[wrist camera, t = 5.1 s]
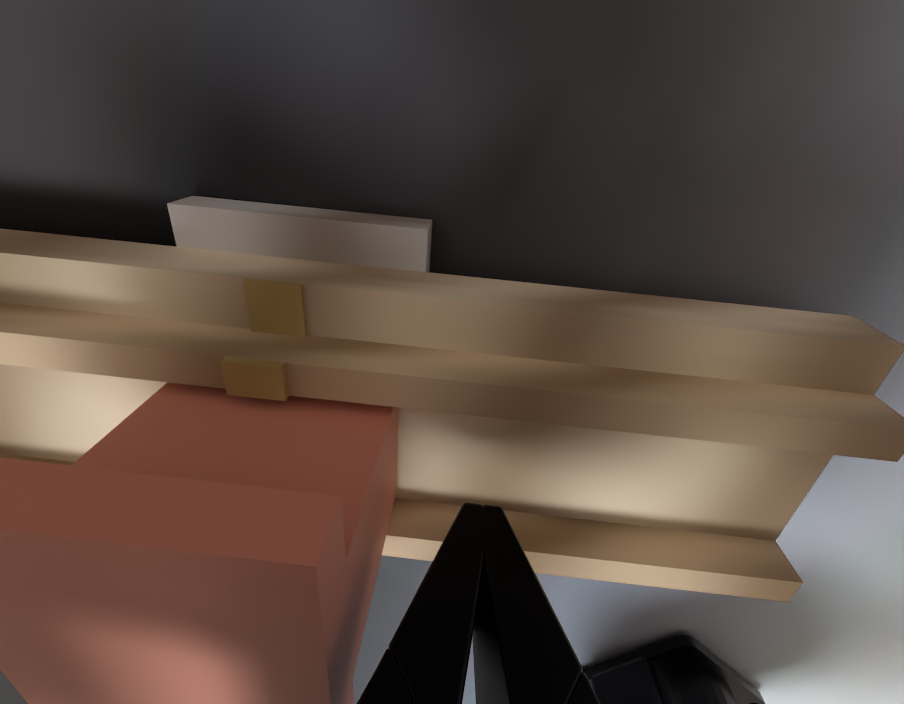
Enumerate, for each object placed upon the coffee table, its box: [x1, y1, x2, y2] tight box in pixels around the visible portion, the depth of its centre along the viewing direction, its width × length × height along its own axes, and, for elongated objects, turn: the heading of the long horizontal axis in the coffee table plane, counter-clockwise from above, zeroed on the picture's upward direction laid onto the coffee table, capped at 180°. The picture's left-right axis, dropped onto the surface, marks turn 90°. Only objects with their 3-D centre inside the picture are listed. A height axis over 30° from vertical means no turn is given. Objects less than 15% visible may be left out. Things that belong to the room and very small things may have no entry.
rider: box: [0, 382, 398, 704], centre depth 9 cm, size 5×6×5 cm
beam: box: [0, 196, 904, 602], centre depth 12 cm, size 26×10×4 cm, turn 86°
